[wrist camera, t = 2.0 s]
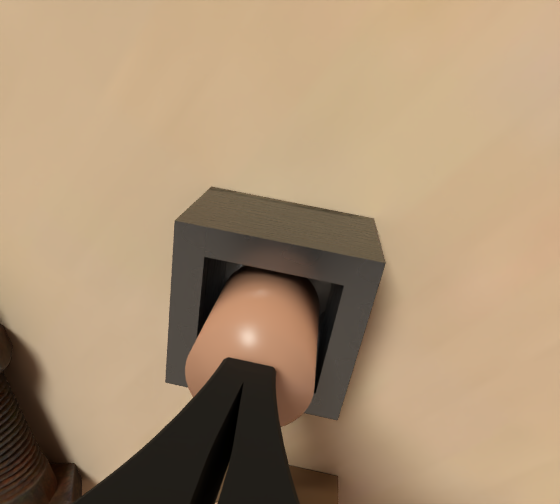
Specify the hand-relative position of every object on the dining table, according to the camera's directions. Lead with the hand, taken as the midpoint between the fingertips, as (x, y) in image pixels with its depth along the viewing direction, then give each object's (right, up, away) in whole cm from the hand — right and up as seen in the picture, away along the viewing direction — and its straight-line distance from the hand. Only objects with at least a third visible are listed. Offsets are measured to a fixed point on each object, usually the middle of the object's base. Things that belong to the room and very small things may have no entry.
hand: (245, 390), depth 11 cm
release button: (+1, +2, +4) cm, 4 cm away
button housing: (+1, +3, +6) cm, 7 cm away
